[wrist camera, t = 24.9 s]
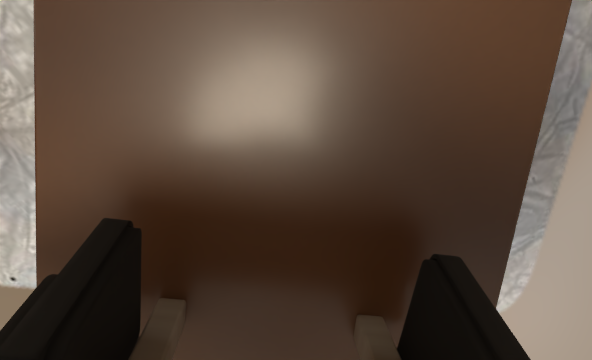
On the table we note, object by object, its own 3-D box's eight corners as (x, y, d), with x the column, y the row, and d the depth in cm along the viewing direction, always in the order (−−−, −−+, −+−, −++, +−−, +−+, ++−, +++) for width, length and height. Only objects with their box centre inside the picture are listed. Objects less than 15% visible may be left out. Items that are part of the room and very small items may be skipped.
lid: (459, 390, 13) (583, 601, 8) (51, 360, 12) (-114, 576, 7) (594, -176, 10) (959, -457, 5) (49, -273, 9) (-264, -760, 4)
